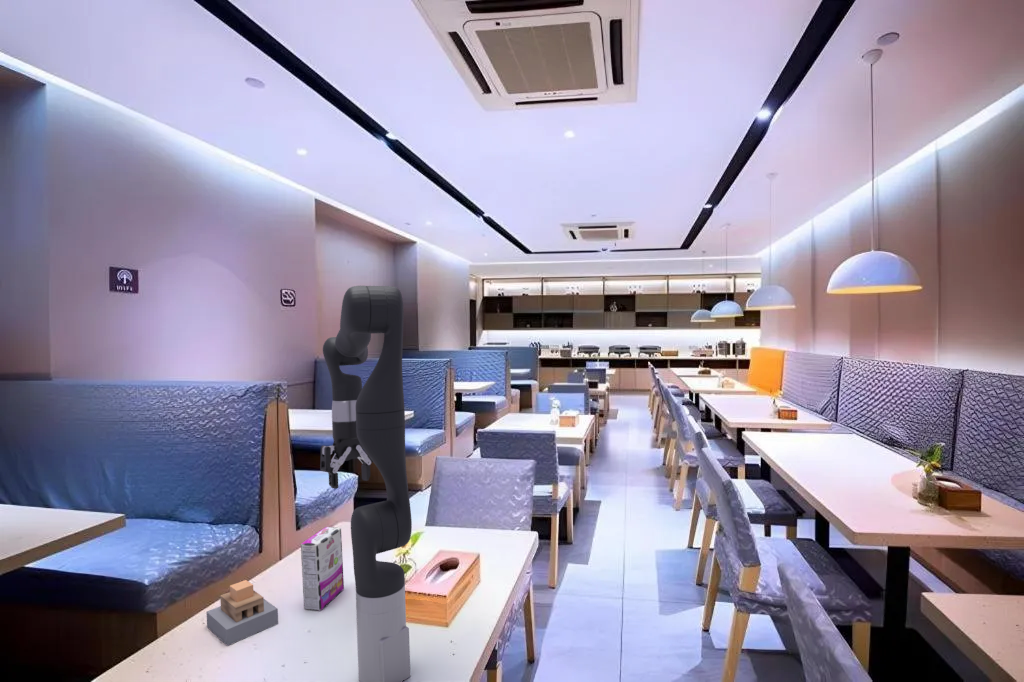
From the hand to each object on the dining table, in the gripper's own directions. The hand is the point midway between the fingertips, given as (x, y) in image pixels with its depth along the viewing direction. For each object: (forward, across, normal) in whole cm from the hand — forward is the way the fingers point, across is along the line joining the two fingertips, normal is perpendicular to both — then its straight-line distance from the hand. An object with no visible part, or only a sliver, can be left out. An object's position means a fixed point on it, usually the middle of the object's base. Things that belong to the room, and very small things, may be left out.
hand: (350, 483), depth 127 cm
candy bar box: (+30, -3, +9) cm, 31 cm away
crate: (+23, -21, +13) cm, 34 cm away
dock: (+30, -21, +13) cm, 39 cm away
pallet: (+26, -21, +13) cm, 36 cm away
